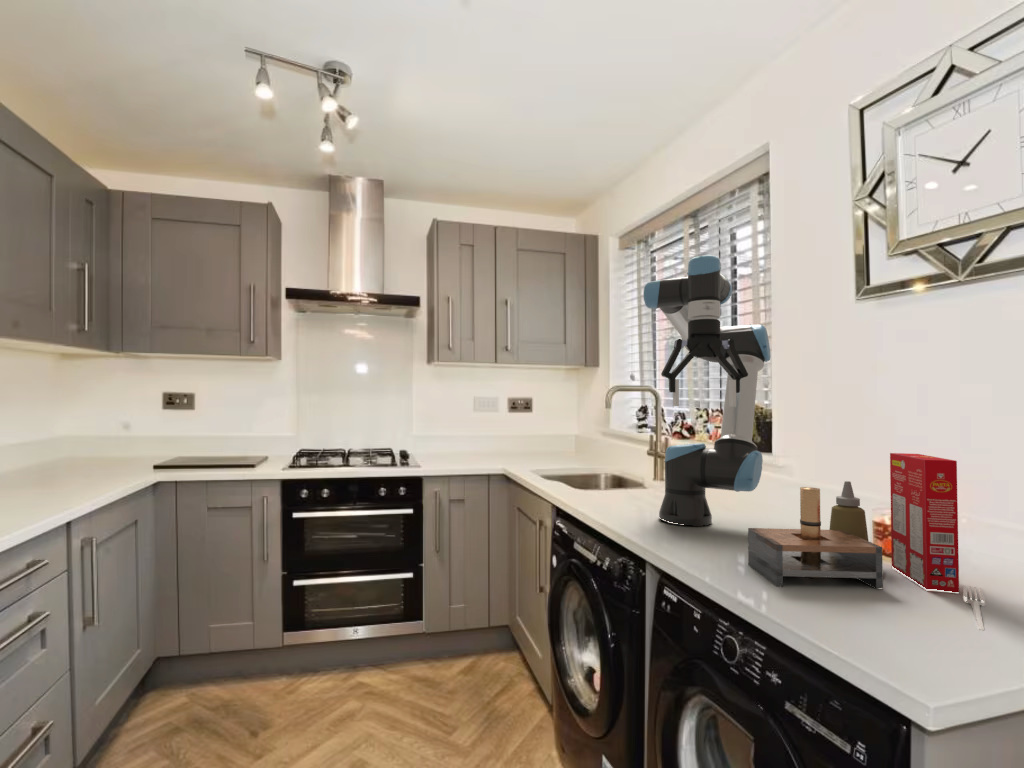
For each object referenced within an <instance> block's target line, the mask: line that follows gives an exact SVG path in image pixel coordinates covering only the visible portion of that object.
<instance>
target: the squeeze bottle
mask: <svg viewBox="0 0 1024 768" xmlns="http://www.w3.org/2000/svg"><path fill="white" fill-rule="evenodd" d="M835 504H836V505H833V506H831V511H830V521H829V529H828V530H842V531H845V532H847V533H849V534H852V535H854V536H857V537H859V538H861V539H864V540H866V541H869V535H868V534H869V533H868V532H869V531H868V527H867V526H868V524H867V518H866V511H865V510H864V509H863V508H862V507H860V506H861V498H860V497H856V496H855V493H854V489H853V486H852V482H851V481H848V480H846V481H845V480H844V483H843V488H842V492H841V495H838V496H835ZM869 542H870V541H869Z"/></svg>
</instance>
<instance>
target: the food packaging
mask: <svg viewBox="0 0 1024 768" xmlns="http://www.w3.org/2000/svg"><path fill="white" fill-rule="evenodd" d="M957 463H958V462H957V460H953V459H949V458H942V457H938V456H931V455H926V454H920V453H904V452H903V453H901V452H900V453H899V452H894V453H893V452H890V453H889V471H890V474H889V475H890V477H889V479H890V480H889V481H890V485H889V486H890V526H891V527H890V538H891V539H890V541H891V542H890V544H891V545H890V546H891V548H890V549H891V567H892V566H893V567H894V568H896V569H897V570H899V571H900V572H902V573H903V574H905V575H906V576H908V577H910V578H911V579H913V580H914V581H916V582H917V583H918V584H920V585H922V586H923V587H925V588H926V589H937V590H944V591H952V592H959V593H960V568H959V567H960V563H959V512H958V507H959V506H958V468H957V467H958V464H957Z"/></svg>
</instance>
